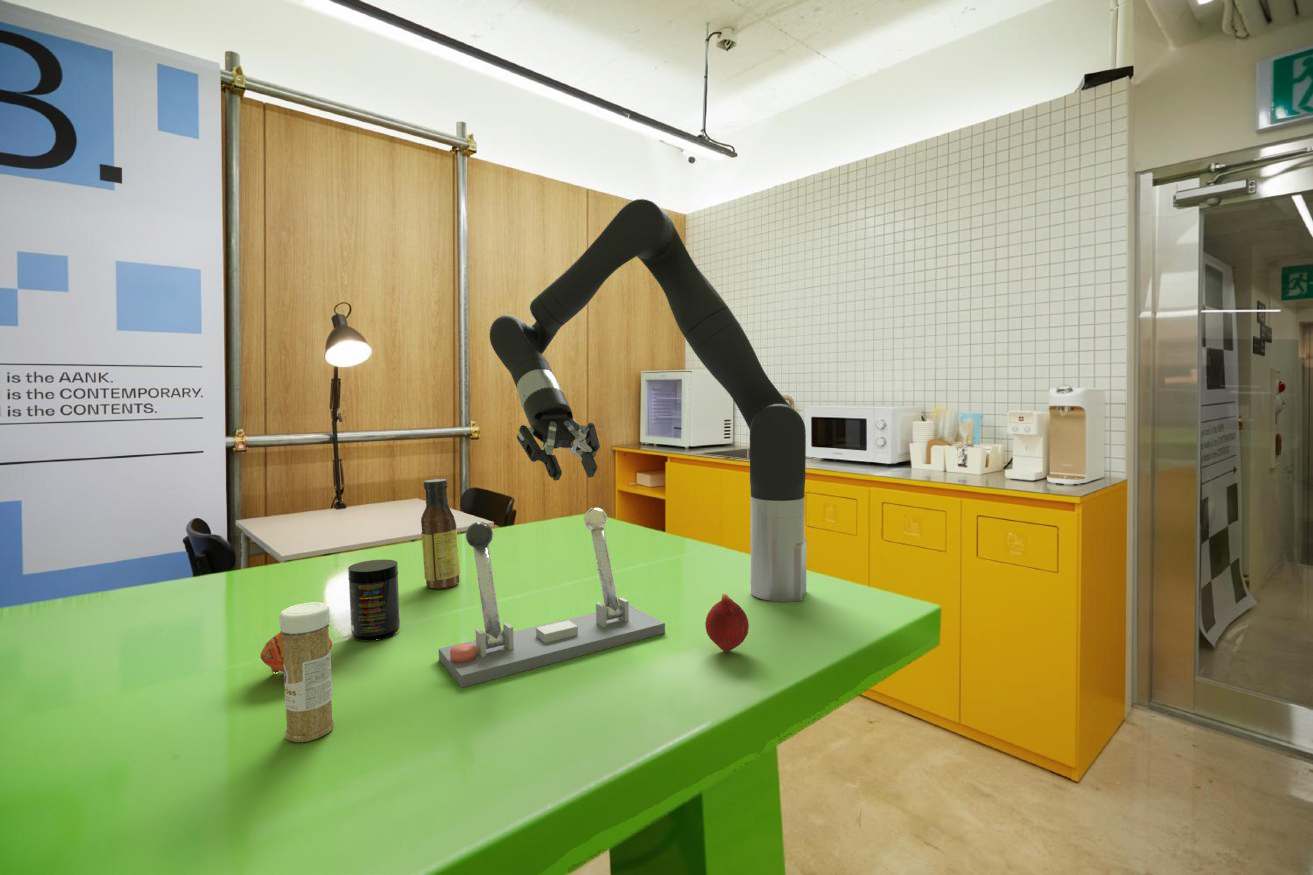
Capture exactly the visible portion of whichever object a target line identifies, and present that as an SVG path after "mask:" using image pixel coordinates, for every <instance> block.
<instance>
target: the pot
mask: <svg viewBox="0 0 1313 875" xmlns="http://www.w3.org/2000/svg"><path fill="white" fill-rule="evenodd" d="M281 632H282V631H281V630H280V631H279V632H278V633H277V634H275V635H274V636H273V637H272V638H270V639H269V640H268V641H267V642H266V643H265V645H264V646H263V648H262V650H261V652H260V659H261V661H262V662H263V663H264V664H265V665H267V667H270V669H271V671H272V673H273V672H275V673H276V672H278V673H279V672H282V673H284V666H283V664H284V652H283V635H282V633H281ZM332 647H333V642H332V639H331V638H330V637H329V648H330V650H331V649H332Z"/></svg>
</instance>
